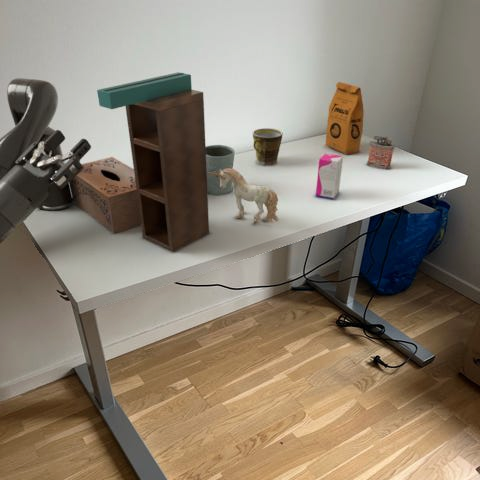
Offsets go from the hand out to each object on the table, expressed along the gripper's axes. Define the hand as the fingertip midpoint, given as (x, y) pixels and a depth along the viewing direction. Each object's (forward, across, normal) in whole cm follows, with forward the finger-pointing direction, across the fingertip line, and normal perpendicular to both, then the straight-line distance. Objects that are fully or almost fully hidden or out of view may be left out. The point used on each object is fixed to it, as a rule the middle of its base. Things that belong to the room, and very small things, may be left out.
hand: (74, 137), depth 95 cm
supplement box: (+50, +15, -60) cm, 79 cm away
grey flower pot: (+33, -13, -52) cm, 63 cm away
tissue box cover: (+7, -25, -38) cm, 46 cm away
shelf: (+7, 0, -38) cm, 39 cm away
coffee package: (+84, -3, -78) cm, 114 cm away
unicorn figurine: (+22, +8, -46) cm, 52 cm away
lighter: (+78, +15, -74) cm, 109 cm away
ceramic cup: (+57, -16, -64) cm, 87 cm away
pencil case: (+19, 0, -5) cm, 20 cm away
